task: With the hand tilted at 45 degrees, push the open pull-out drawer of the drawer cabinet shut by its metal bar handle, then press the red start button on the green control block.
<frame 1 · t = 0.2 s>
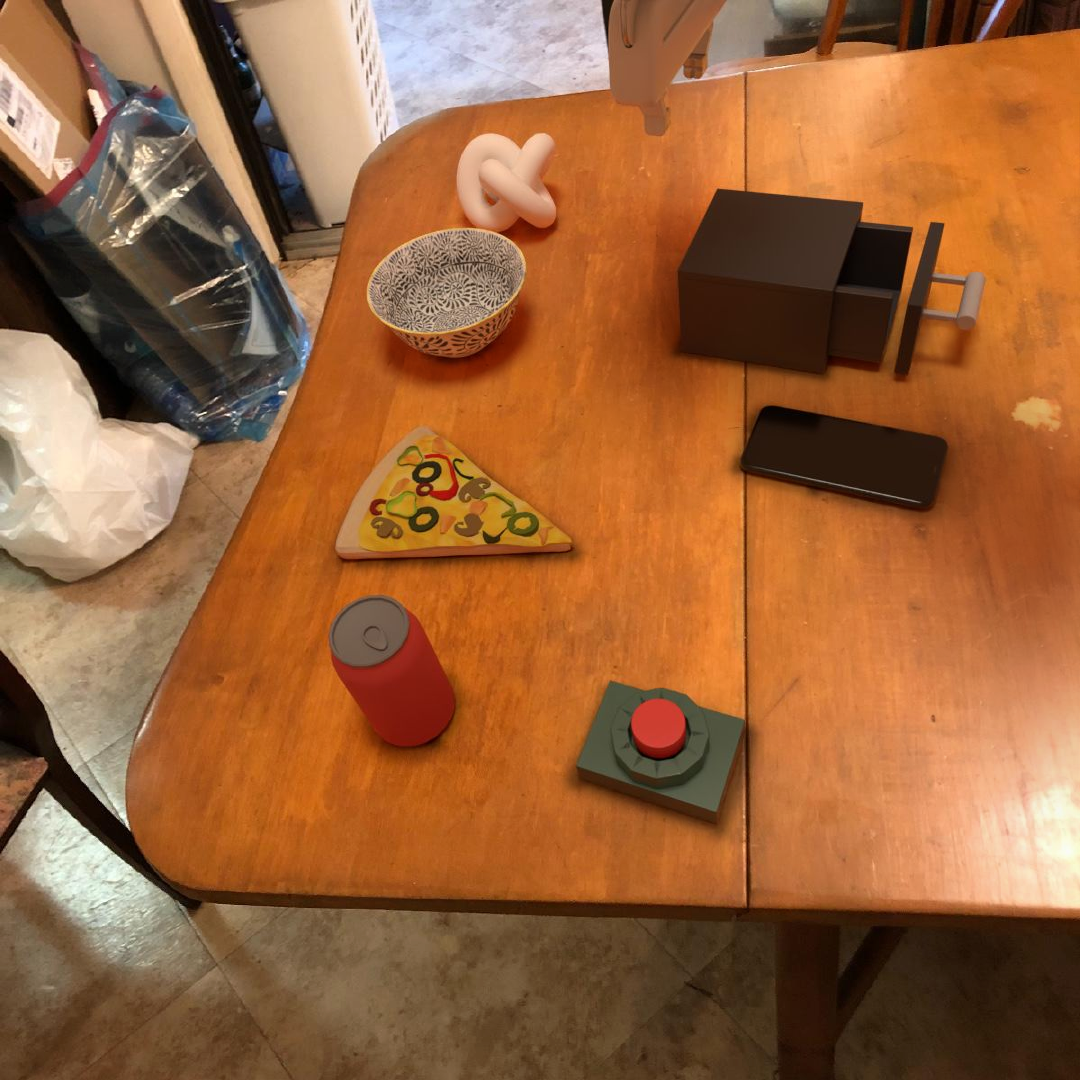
hand: (677, 102, 81), 20 cm above the table, tool pointing down, fingers open, 8 cm apart
pizza slice: (467, 521, 83), on the table
beer can: (415, 711, 72), on the table
start button: (658, 728, 63), point 4 cm above the table, slide at 0.1 cm
smartphone: (841, 459, 80), on the table
control block: (662, 755, 67), on the table
drawer cabinet: (767, 319, 92), on the table
bowl: (462, 337, 98), on the table
pull-out drawer: (879, 293, 85), point 5 cm above the table, slide at 6.0 cm
white knot sculpture: (512, 219, 109), on the table
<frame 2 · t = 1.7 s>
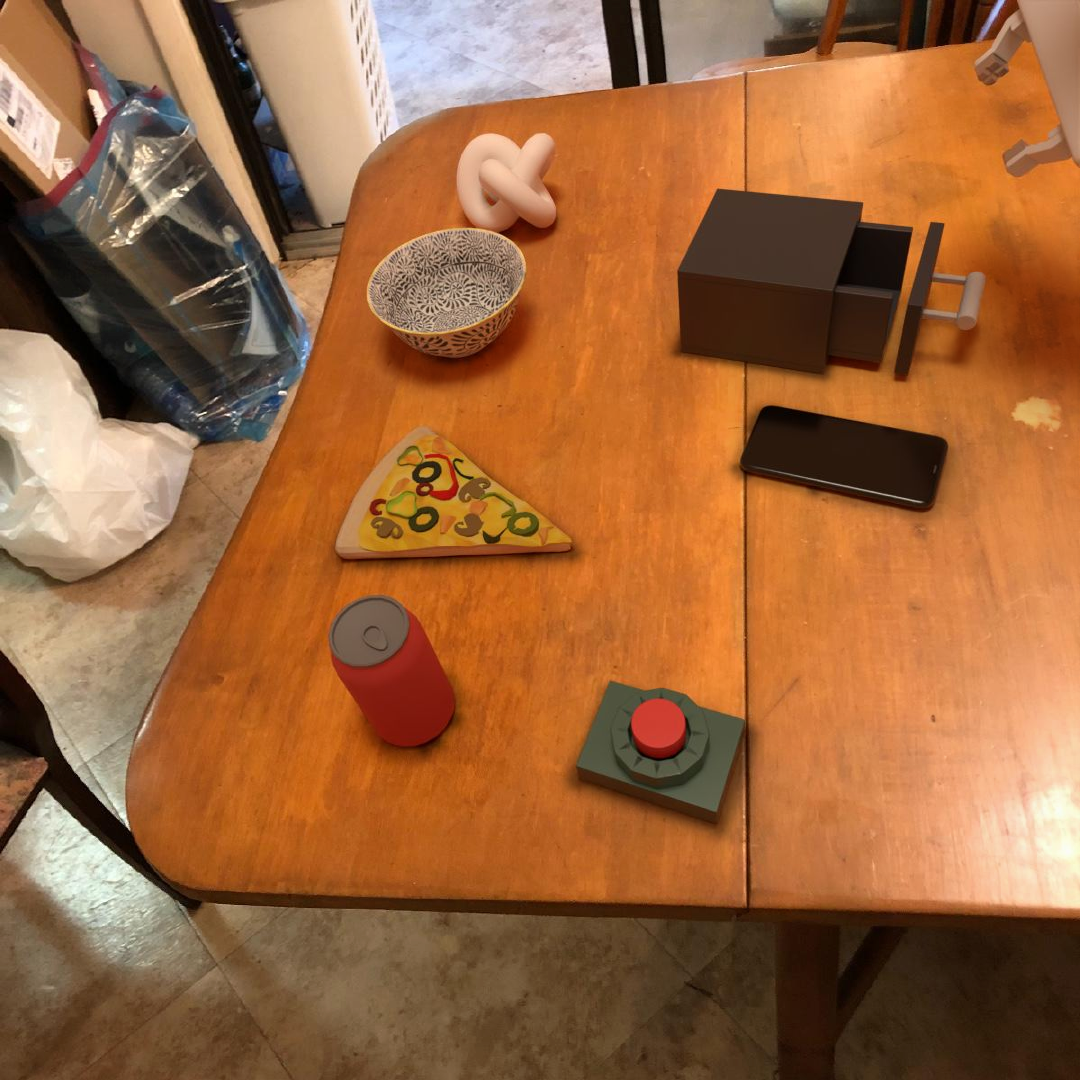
hand: (994, 120, 72), 20 cm above the table, tool tilted 40°, fingers open, 8 cm apart
nothing on the table moved.
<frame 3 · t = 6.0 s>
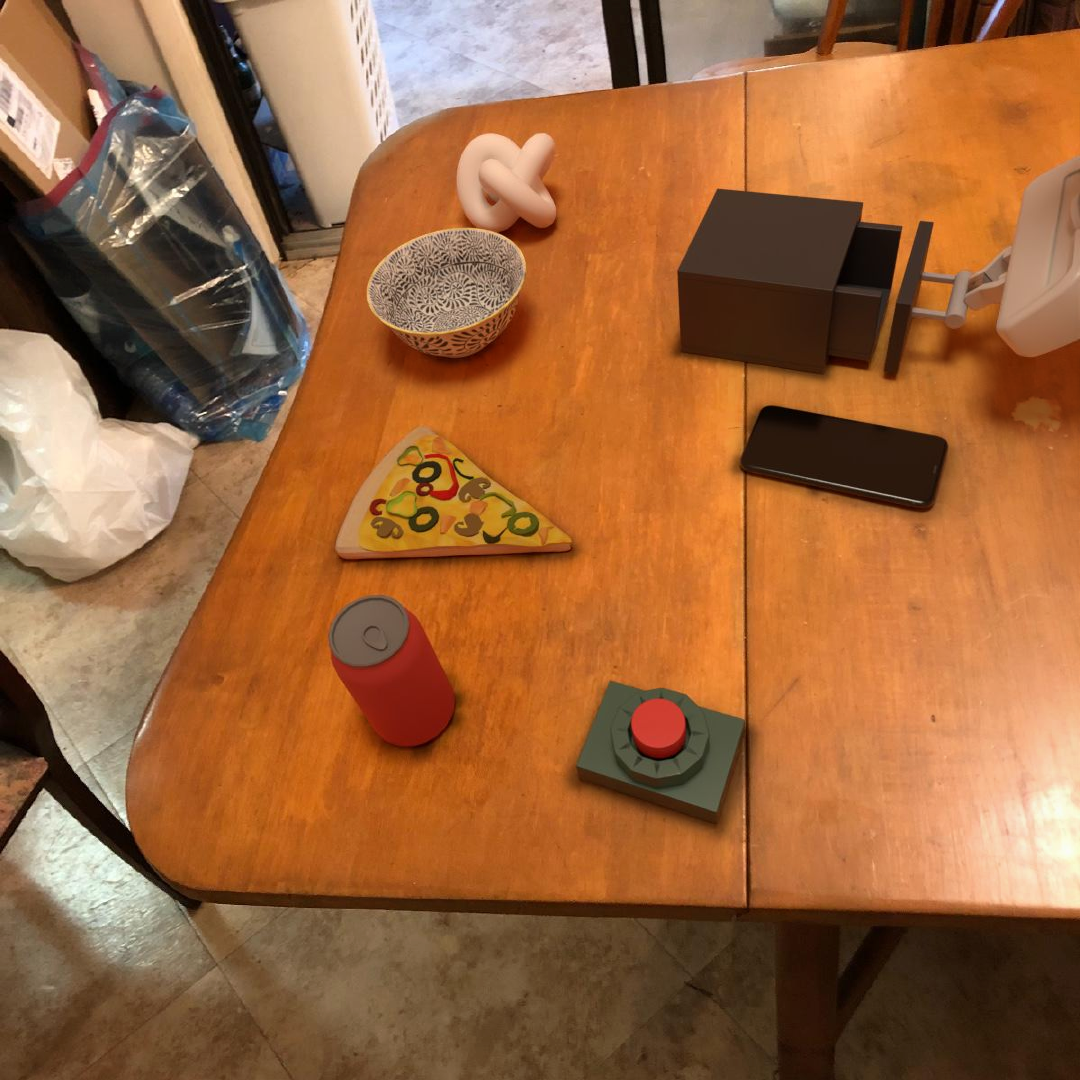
hand: (969, 295, 81), 6 cm above the table, tool tilted 45°, fingers closed, pressing on pull-out drawer
pull-out drawer: (868, 292, 85), point 5 cm above the table, slide at 5.1 cm, touching gripper
everything else where it was.
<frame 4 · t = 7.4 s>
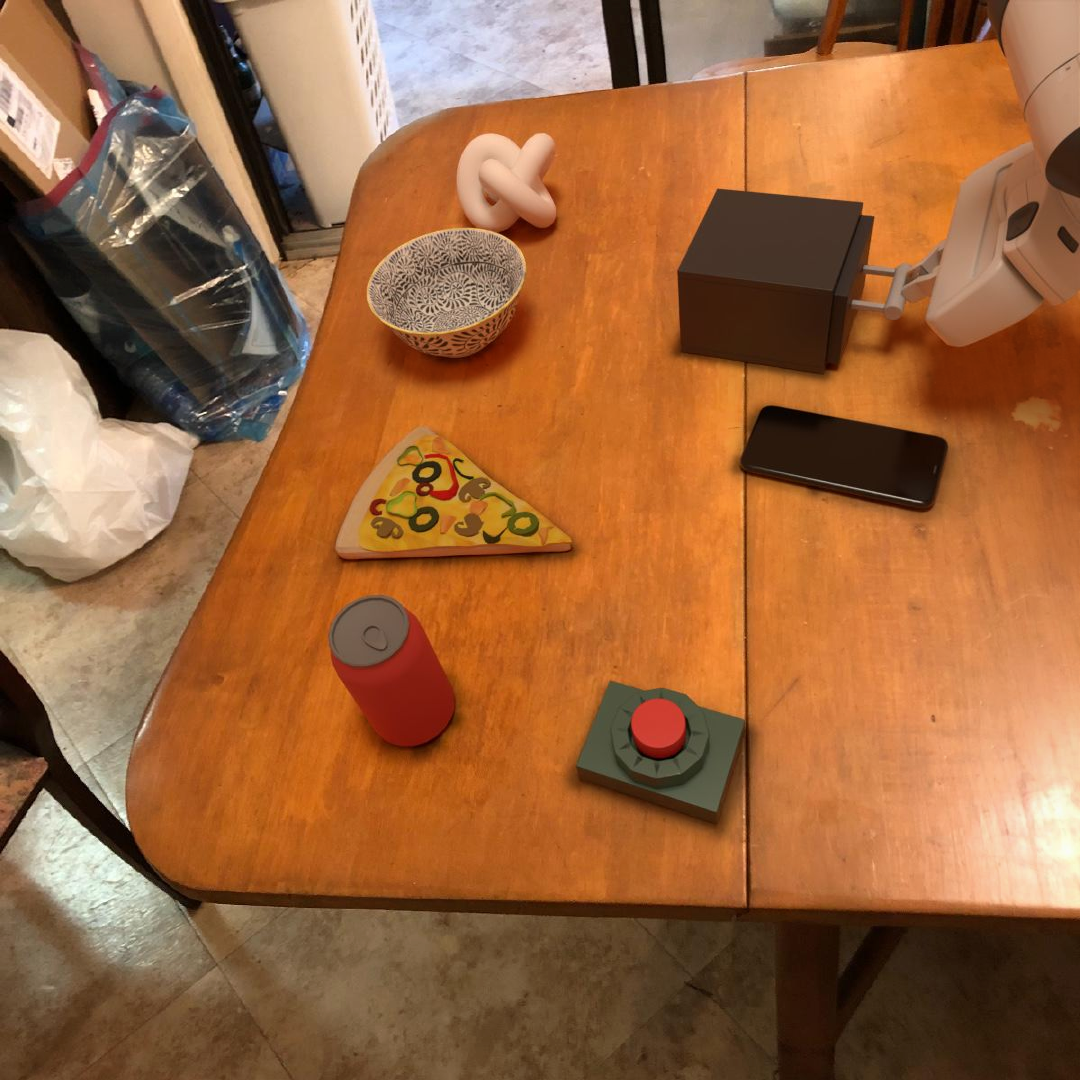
hand: (908, 287, 83), 6 cm above the table, tool tilted 45°, fingers closed, pressing on pull-out drawer
pull-out drawer: (811, 284, 87), point 5 cm above the table, slide at 0.0 cm, touching drawer cabinet, gripper
everything else where it was.
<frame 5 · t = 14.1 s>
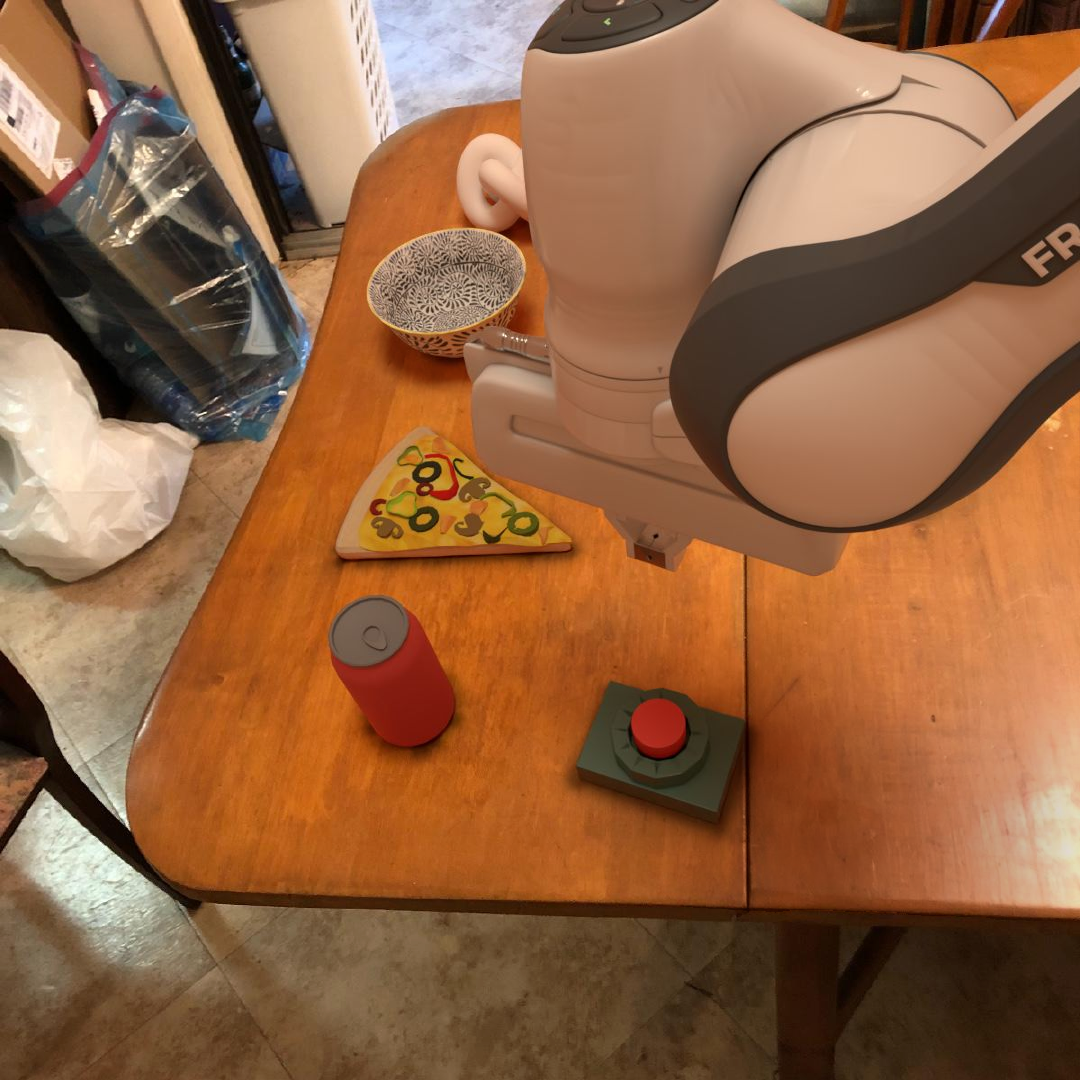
hand: (656, 556, 53), 19 cm above the table, tool pointing down, fingers closed
pull-out drawer: (811, 284, 87), point 5 cm above the table, slide at 0.0 cm
everything else where it was.
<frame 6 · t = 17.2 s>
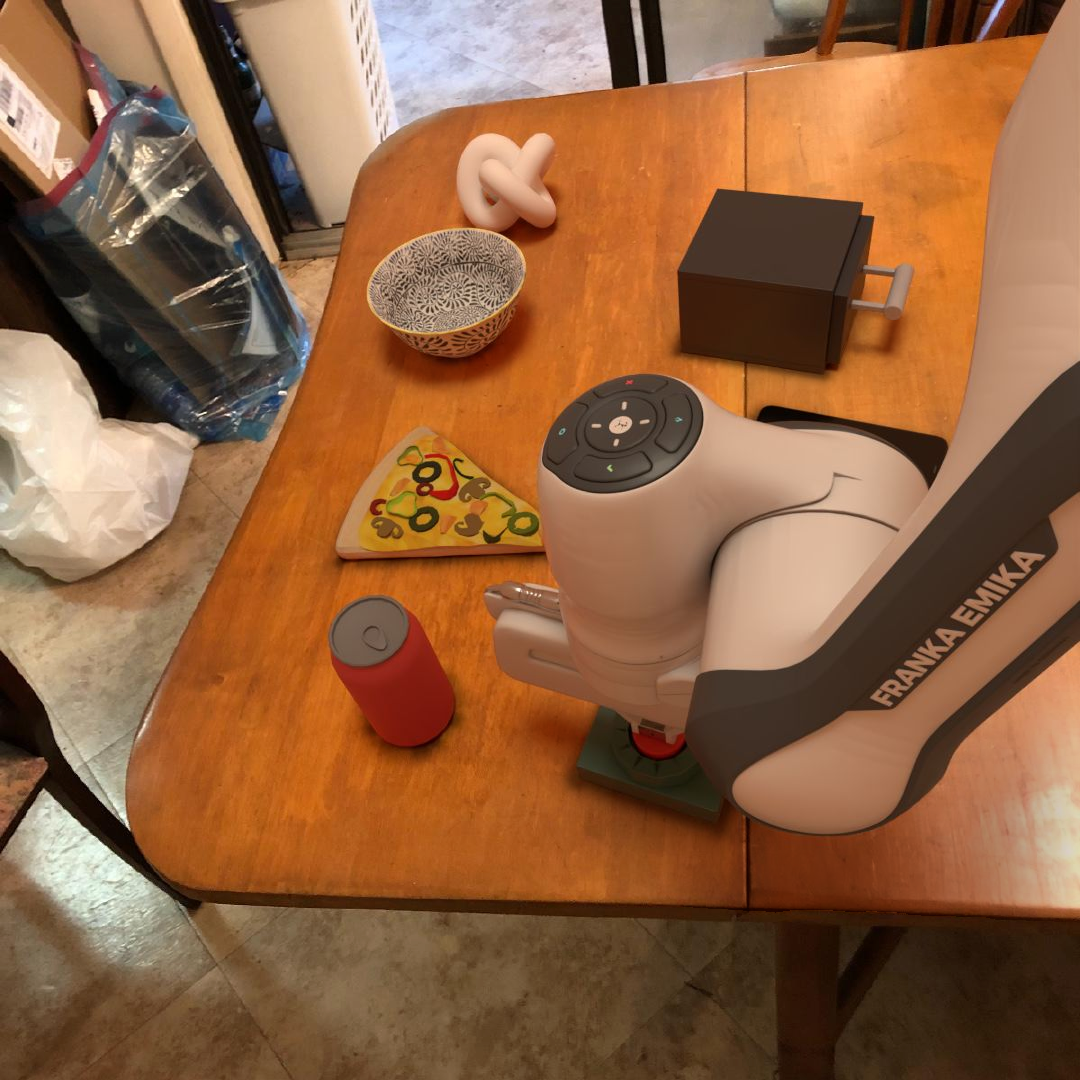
hand: (657, 729, 63), 4 cm above the table, tool pointing down, fingers closed, pressing on start button
start button: (659, 734, 64), point 4 cm above the table, slide at -0.9 cm, touching gripper
everything else where it was.
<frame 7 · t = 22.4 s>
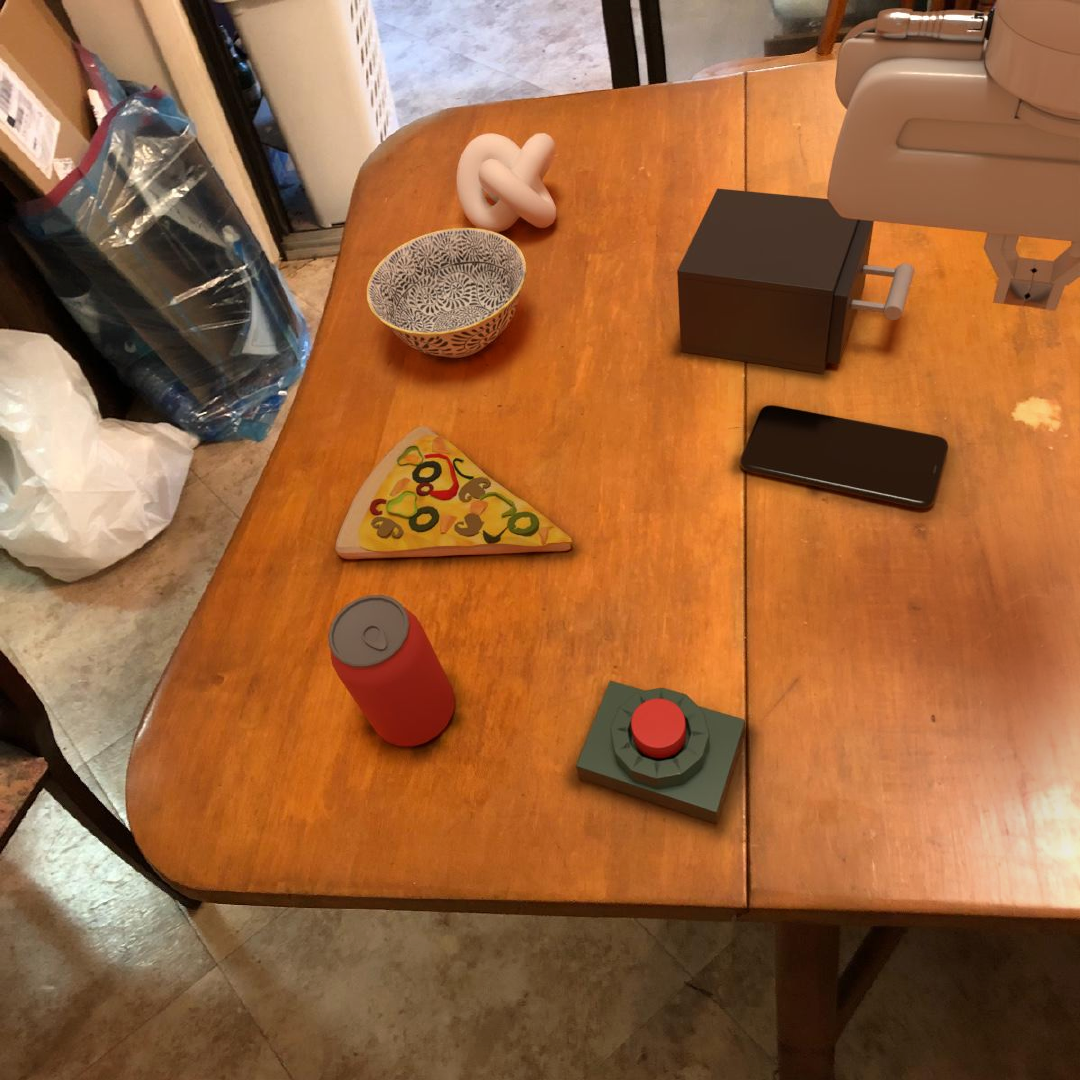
hand: (1024, 299, 47), 29 cm above the table, tool pointing down, fingers closed
start button: (658, 728, 63), point 4 cm above the table, slide at 0.1 cm
everything else where it was.
at the end: pull-out drawer slide at 0.0 cm; start button pushed in 1.1 cm at the most during the clip, back to where it started at the end; start button slide at 0.1 cm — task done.
